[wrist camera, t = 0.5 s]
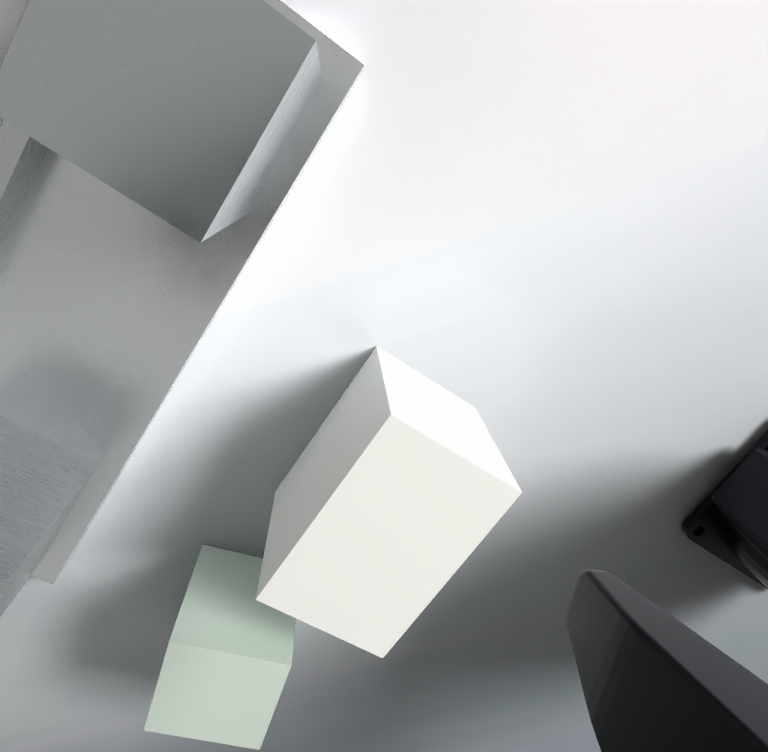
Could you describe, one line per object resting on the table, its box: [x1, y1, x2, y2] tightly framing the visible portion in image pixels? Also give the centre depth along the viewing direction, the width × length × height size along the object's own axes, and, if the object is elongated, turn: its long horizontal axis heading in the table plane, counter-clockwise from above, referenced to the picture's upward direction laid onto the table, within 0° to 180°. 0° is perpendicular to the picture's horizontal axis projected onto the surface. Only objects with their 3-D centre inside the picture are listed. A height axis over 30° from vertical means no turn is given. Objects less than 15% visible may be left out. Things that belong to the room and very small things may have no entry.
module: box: [256, 346, 522, 658], centre depth 19 cm, size 4×7×6 cm, turn 146°
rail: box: [0, 0, 364, 617], centre depth 16 cm, size 7×21×7 cm, turn 146°
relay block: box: [144, 544, 296, 750], centre depth 22 cm, size 4×4×5 cm
